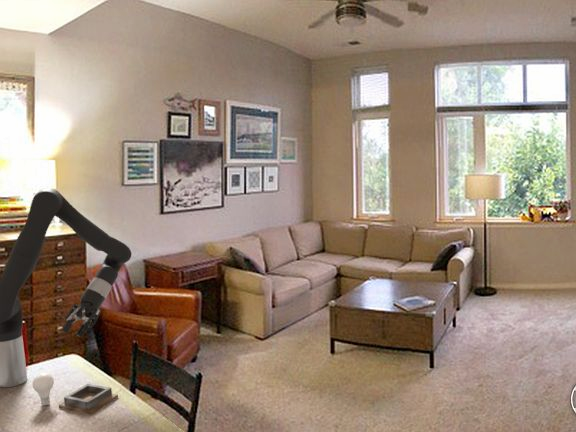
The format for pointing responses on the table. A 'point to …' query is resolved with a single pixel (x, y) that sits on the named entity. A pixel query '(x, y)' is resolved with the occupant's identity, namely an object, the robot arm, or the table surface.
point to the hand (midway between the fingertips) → (71, 334)
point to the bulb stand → (88, 399)
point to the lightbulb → (43, 387)
